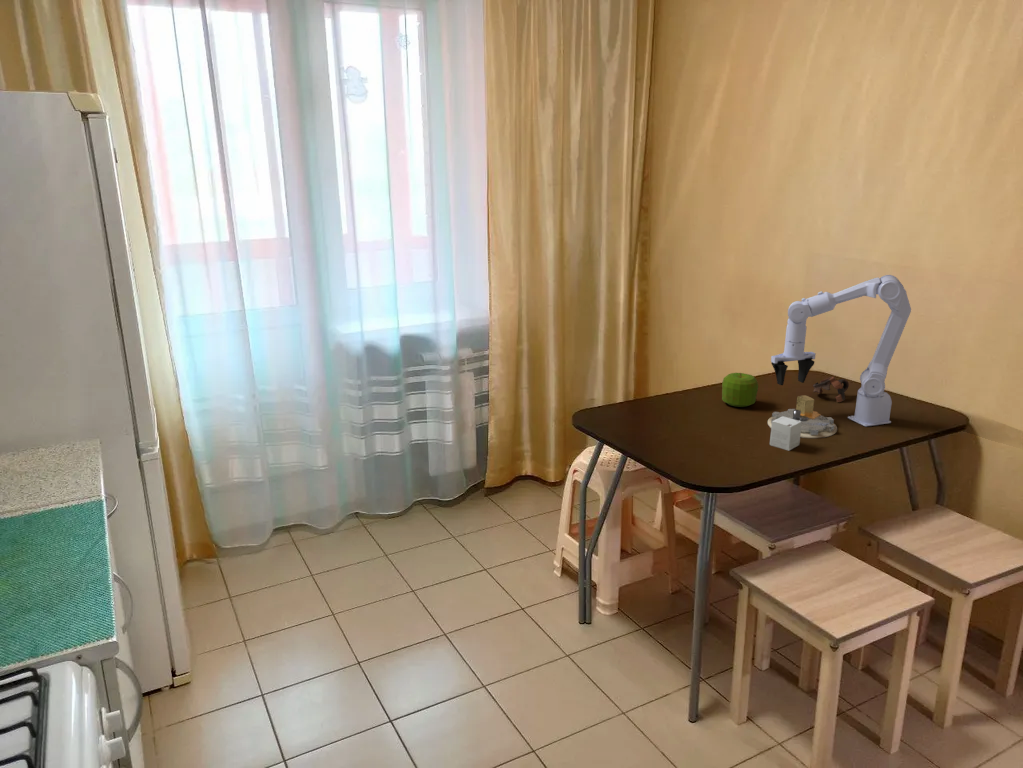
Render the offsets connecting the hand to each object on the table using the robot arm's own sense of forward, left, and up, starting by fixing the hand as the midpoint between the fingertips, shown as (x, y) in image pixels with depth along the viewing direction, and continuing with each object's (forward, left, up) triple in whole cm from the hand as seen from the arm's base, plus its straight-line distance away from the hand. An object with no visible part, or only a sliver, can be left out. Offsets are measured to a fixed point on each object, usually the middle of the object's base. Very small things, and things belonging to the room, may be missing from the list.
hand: (790, 383), depth 232 cm
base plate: (+3, +11, -10) cm, 15 cm away
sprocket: (+3, +11, -10) cm, 15 cm away
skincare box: (+17, +22, -10) cm, 30 cm away
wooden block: (0, +7, -8) cm, 10 cm away
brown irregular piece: (-23, -8, -10) cm, 26 cm away
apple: (+10, -12, -10) cm, 19 cm away
